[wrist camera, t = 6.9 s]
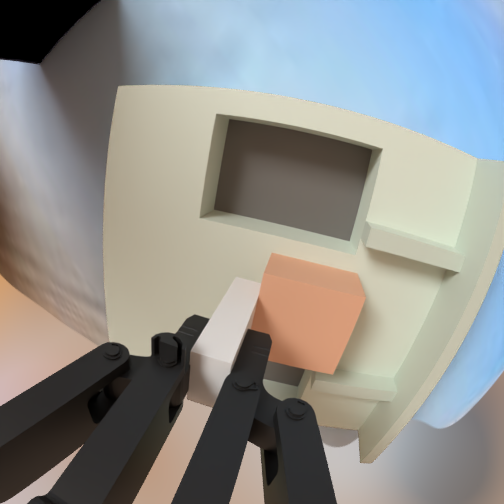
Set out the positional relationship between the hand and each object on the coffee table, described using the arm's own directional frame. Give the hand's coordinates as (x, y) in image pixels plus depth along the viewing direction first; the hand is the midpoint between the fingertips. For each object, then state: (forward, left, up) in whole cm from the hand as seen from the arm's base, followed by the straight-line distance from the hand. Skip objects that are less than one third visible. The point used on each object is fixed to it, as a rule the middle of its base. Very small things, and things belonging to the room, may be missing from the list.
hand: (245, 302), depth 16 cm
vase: (-24, +22, -5) cm, 33 cm away
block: (+3, 0, -2) cm, 4 cm away
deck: (+1, 0, -5) cm, 5 cm away
